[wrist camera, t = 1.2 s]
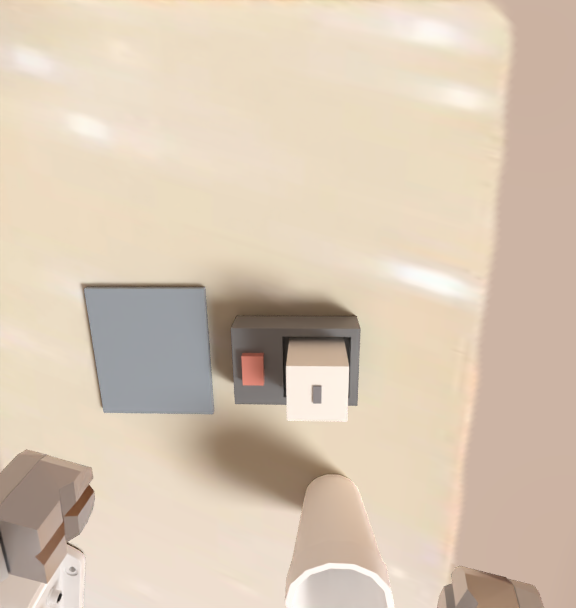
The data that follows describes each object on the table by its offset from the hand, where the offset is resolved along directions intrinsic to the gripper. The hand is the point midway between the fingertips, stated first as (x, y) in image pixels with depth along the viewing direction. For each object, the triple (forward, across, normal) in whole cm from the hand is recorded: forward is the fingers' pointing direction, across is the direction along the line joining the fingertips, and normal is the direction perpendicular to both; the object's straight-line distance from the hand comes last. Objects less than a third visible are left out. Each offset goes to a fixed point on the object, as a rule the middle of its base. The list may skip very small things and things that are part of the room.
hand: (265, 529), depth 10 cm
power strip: (+31, -2, -17) cm, 36 cm away
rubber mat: (+30, -16, -20) cm, 39 cm away
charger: (+30, +1, -16) cm, 34 cm away
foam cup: (+29, +6, -34) cm, 45 cm away
